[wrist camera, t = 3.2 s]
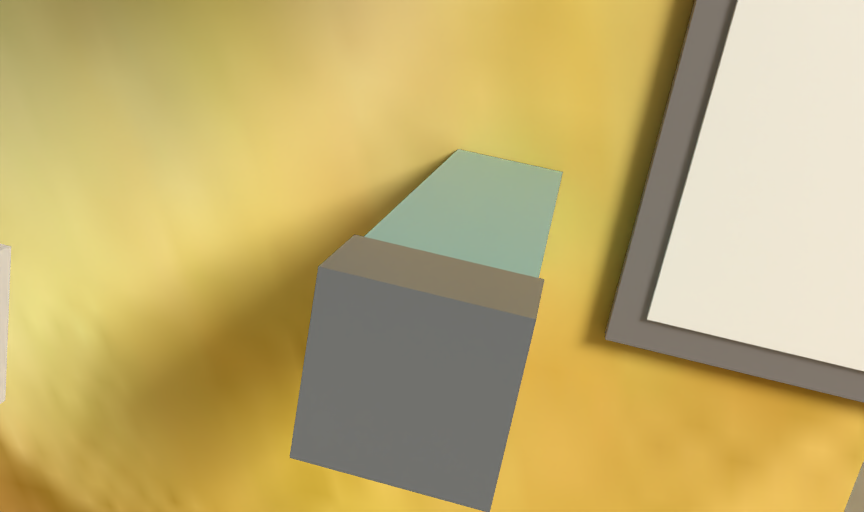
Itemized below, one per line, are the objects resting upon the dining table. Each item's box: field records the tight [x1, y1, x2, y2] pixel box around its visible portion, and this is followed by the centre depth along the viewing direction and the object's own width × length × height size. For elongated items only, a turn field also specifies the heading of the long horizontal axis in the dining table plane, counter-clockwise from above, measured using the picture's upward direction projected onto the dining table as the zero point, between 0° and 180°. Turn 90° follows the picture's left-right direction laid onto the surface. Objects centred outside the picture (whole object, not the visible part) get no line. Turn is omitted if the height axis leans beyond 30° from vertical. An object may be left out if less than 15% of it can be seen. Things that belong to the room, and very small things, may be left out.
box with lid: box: [290, 149, 563, 512], centre depth 19 cm, size 3×3×13 cm
